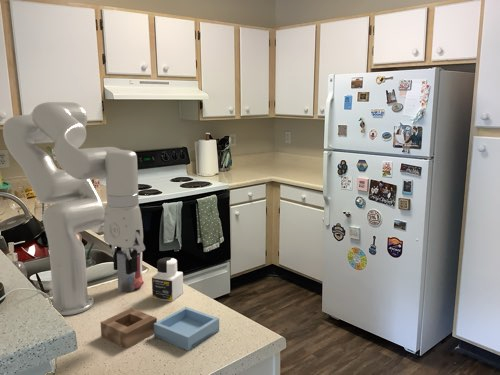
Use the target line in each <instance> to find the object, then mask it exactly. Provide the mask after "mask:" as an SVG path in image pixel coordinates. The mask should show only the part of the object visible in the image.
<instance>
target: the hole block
mask: <svg viewBox="0 0 500 375" xmlns="http://www.w3.org/2000/svg"><path fill="white" fill-rule="evenodd" d="M156 322H158V320H157V317H156V316H153V315H151V314H147V313H145V312H142V311H139V310H137V309H135V308H132V307H131V308H127V309H125V310H123V311H122V312H120V313H119V312H118V313H117V314H115V315H113V316H112V317H109V318H106V319H104V320H103V321H100V335H101V336H100V337H101V338H104V339H106V340H107V341H110V342H112V343H114V344H116V345H118V346H121V347H123V348H125V349H129V348H131V347H132V346H134V345H136V344H138V343H140V342H142V341H144V340H145V339H148V337H151V336H152V335H153V336H154V323H156Z"/></svg>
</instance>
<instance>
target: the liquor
mask: <svg viewBox="0 0 500 375" xmlns="http://www.w3.org/2000/svg"><path fill="white" fill-rule="evenodd" d="M123 250H126V249H124V248H123ZM131 251H133V248H132V249H131ZM144 284H145V282H144V280H143V251H142V252H141V253H140V254H139V256H138V257H137V271H136V272H134V290H133V291H135V290H138V289H140V288H141V287H142V286H143V285H144Z"/></svg>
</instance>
